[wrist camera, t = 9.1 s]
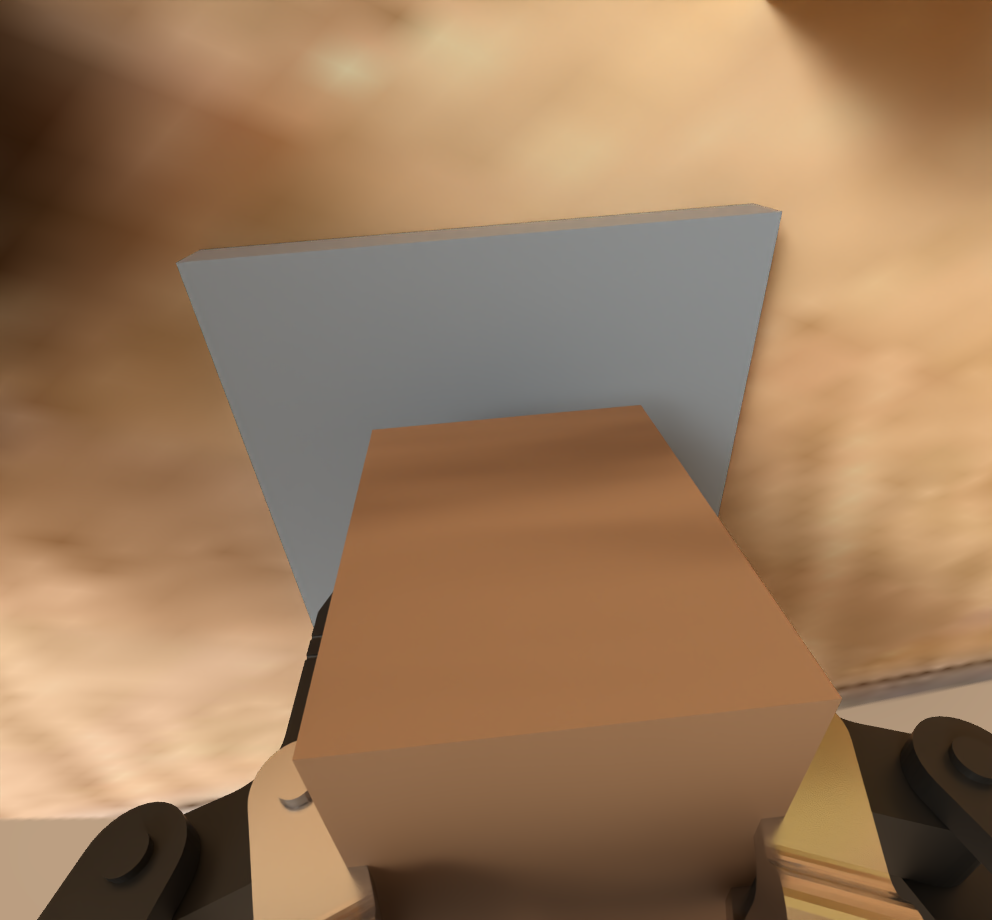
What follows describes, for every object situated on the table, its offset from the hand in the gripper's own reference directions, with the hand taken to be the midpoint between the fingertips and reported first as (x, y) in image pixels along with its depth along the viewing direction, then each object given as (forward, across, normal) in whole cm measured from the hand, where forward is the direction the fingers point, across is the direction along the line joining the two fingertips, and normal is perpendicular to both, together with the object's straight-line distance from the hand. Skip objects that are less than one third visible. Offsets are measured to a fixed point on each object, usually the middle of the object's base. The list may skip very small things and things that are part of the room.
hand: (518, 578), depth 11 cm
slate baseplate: (+4, 0, 0) cm, 4 cm away
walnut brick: (+1, 0, 0) cm, 1 cm away
